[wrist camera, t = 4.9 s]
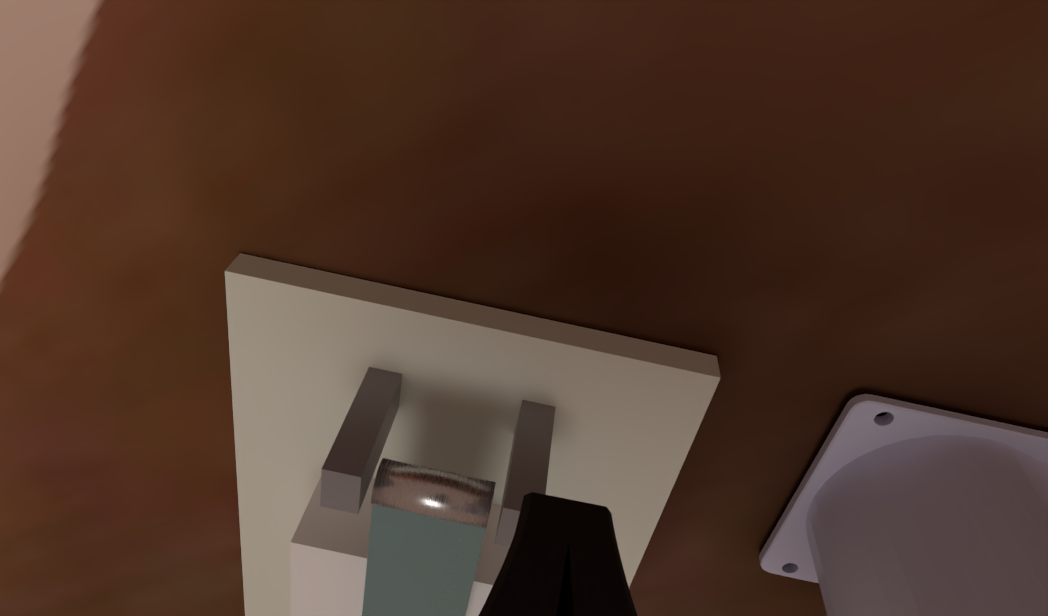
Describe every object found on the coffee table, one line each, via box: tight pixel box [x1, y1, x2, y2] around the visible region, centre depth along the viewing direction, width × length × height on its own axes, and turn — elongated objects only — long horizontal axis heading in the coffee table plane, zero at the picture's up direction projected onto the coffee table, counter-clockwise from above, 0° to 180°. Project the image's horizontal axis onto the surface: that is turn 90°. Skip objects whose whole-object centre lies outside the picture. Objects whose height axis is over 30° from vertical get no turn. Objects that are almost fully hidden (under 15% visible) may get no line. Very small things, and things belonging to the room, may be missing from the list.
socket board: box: [225, 253, 721, 616], centre depth 25 cm, size 14×22×5 cm, turn 170°
